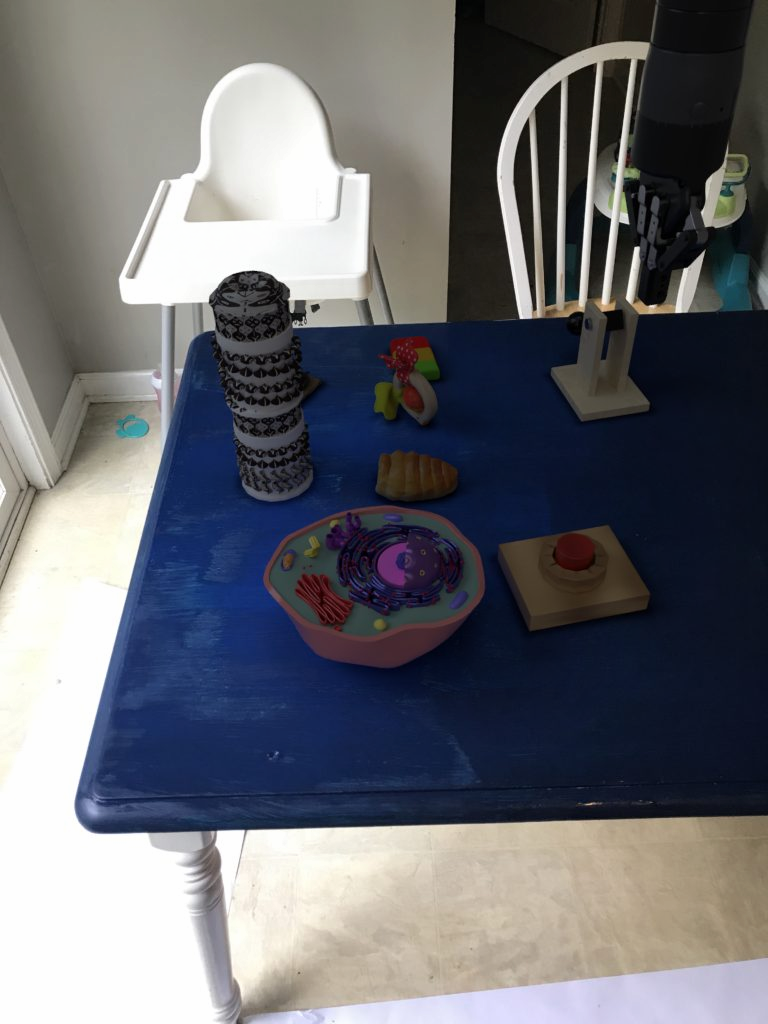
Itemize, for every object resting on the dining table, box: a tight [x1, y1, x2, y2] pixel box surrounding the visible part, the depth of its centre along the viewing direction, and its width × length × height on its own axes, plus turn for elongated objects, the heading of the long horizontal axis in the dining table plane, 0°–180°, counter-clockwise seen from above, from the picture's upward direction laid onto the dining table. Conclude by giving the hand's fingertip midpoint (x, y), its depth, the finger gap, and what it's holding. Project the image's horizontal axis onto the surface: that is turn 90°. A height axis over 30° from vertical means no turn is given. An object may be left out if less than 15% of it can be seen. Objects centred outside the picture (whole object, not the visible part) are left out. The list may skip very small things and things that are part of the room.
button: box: [555, 533, 595, 571], centre depth 81 cm, size 4×4×2 cm
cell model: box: [262, 505, 486, 669], centre depth 77 cm, size 17×20×11 cm
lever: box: [565, 309, 624, 337], centre depth 107 cm, size 13×3×3 cm
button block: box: [497, 524, 651, 632], centre depth 83 cm, size 12×10×4 cm
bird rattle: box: [373, 338, 439, 427], centre depth 103 cm, size 6×11×9 cm
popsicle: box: [389, 335, 441, 382], centre depth 112 cm, size 6×15×2 cm, turn 9°
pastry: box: [374, 449, 459, 503], centre depth 95 cm, size 9×7×4 cm
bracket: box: [550, 296, 651, 422], centre depth 104 cm, size 11×9×12 cm
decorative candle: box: [208, 270, 314, 503], centre depth 90 cm, size 9×9×25 cm
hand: (650, 300), depth 78 cm, fingers closed
